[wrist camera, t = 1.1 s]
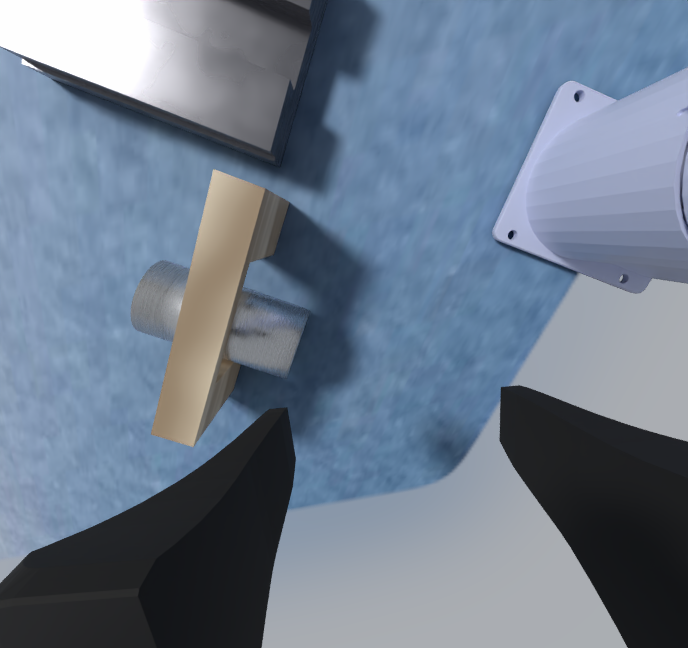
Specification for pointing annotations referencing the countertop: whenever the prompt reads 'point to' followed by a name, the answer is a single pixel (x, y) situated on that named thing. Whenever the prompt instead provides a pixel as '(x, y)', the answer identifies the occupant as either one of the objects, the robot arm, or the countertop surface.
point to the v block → (178, 60)
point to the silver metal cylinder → (247, 328)
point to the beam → (214, 304)
